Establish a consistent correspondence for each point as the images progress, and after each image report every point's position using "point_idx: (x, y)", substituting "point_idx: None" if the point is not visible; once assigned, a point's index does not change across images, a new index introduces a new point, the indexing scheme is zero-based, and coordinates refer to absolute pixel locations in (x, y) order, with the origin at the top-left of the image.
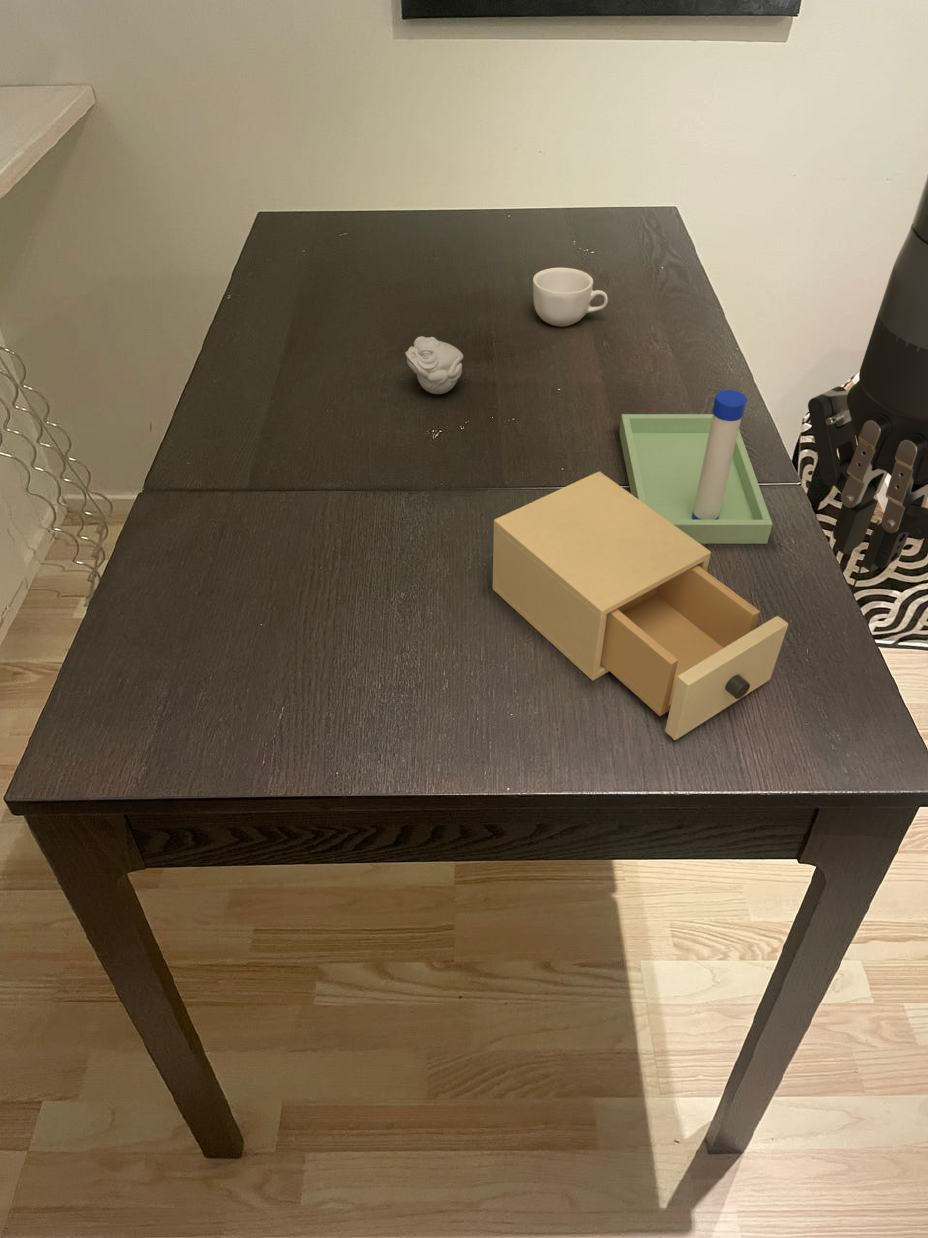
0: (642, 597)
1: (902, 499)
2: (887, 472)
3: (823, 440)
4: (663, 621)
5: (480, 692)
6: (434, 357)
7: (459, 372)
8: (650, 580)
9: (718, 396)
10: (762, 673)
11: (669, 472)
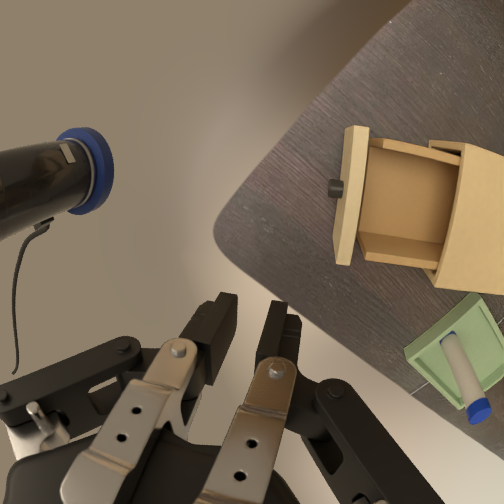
0: None
1: (128, 387)
2: (186, 441)
3: (379, 459)
4: (427, 223)
5: (467, 77)
6: None
7: None
8: (459, 213)
9: (489, 411)
10: (335, 228)
11: (479, 352)
